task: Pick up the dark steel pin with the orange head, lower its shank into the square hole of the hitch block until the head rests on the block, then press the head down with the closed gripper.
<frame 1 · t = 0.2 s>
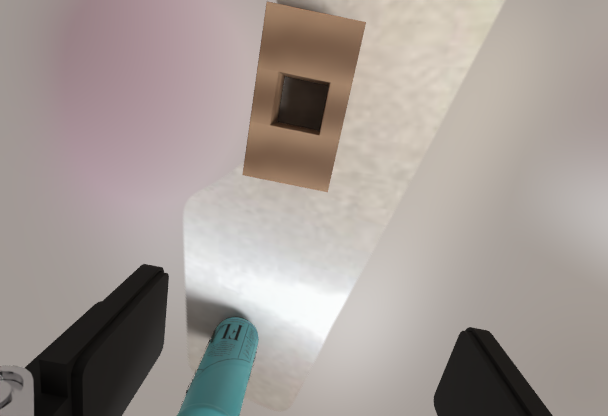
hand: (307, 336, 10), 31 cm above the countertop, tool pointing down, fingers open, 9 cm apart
beverage bottle: (239, 327, 48), on the countertop
hitch block: (302, 104, 37), on the countertop
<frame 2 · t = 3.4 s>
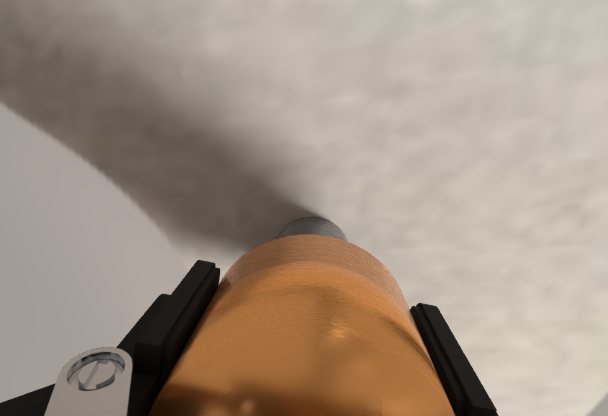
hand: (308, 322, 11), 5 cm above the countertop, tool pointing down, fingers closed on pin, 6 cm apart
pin: (312, 252, 16), on the countertop, touching gripper
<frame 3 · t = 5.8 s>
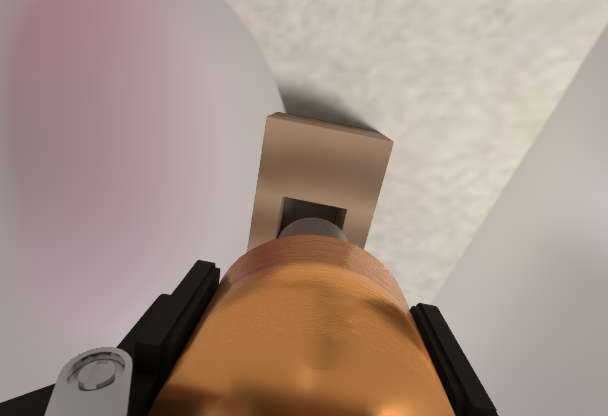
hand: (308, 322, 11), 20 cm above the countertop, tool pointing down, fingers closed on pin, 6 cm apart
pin: (312, 252, 16), point 15 cm above the countertop, touching gripper
hitch block: (310, 207, 31), on the countertop
when the fingers open (7 cm above the countertop, at t = 8.4 s): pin drops 1 cm, resting on hitch block.
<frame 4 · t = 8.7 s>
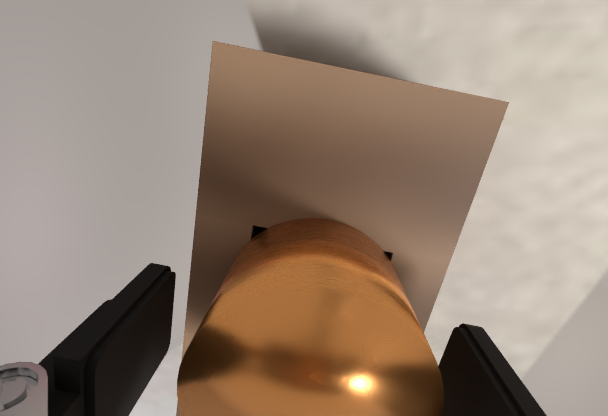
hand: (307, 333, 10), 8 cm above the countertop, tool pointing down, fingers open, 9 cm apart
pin: (314, 240, 17), resting on hitch block
hitch block: (312, 237, 18), on the countertop
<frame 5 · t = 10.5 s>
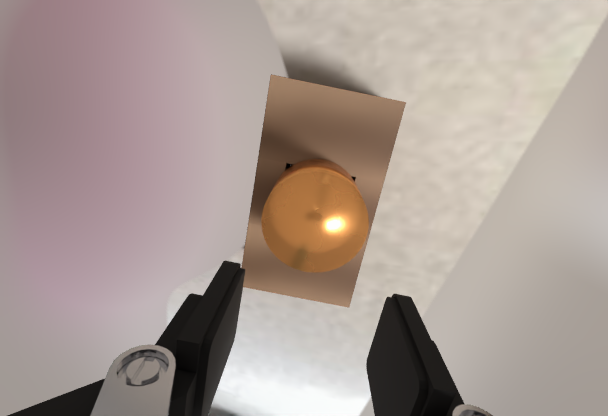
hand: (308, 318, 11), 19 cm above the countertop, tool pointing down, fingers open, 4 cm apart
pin: (316, 184, 29), resting on hitch block
hitch block: (315, 183, 30), on the countertop
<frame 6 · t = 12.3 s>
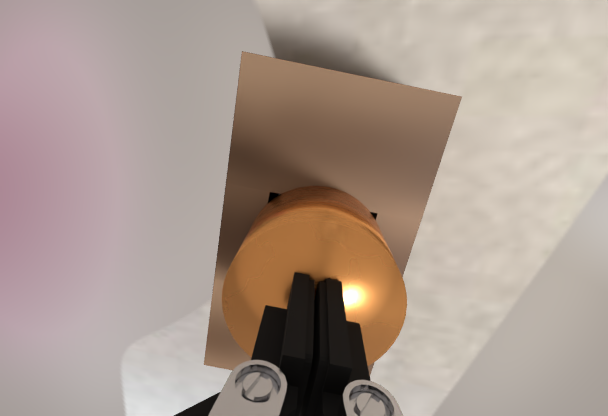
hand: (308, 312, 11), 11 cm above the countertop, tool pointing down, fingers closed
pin: (316, 213, 21), resting on hitch block, touching gripper
hitch block: (314, 211, 21), on the countertop
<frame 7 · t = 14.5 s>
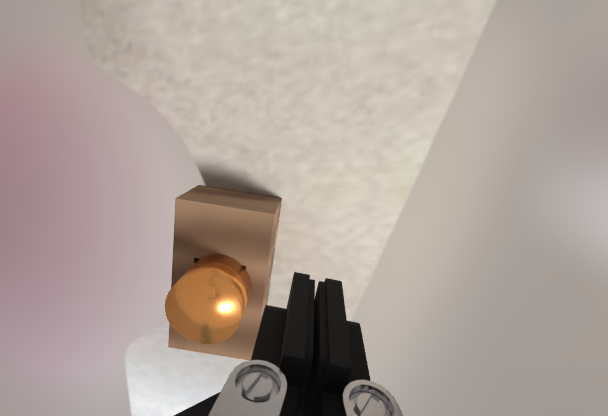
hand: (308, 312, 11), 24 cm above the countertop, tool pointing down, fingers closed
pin: (233, 260, 37), resting on hitch block
hitch block: (233, 259, 38), on the countertop
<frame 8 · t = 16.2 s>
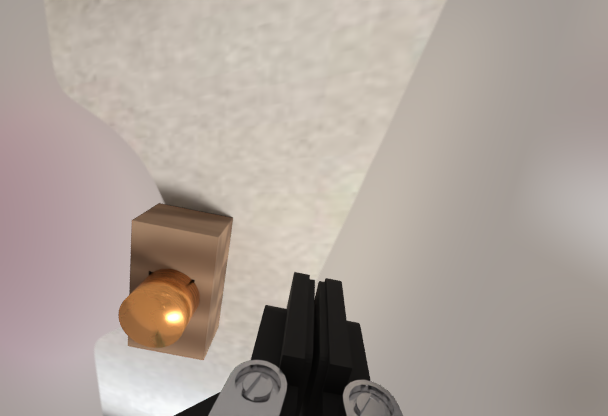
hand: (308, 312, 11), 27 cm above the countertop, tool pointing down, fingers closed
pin: (189, 270, 41), resting on hitch block
hitch block: (190, 268, 42), on the countertop
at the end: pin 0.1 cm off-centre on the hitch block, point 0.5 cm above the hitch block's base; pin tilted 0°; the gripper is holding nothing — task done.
